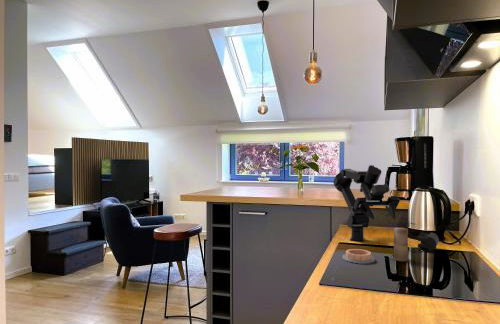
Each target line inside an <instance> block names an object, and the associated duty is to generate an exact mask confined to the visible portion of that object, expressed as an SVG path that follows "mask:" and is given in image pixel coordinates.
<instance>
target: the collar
mask: <svg viewBox="0 0 500 324" xmlns="http://www.w3.org/2000/svg"><path fill="white" fill-rule="evenodd" d="M343 259H344V260H343ZM342 260H343V261H345V262H347V261H348V262H347V263H350V262H353V263H352V264H356V263H358V264H357V265H368V264H373V263H374V262H375V257H374V256H373V255H372V252H371V251H370V250H366V249H361V248H349V249H346V250H345V254H343V255H342Z"/></svg>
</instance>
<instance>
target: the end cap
mask: <svg viewBox="0 0 500 324" xmlns="http://www.w3.org/2000/svg"><path fill="white" fill-rule="evenodd" d="M417 241H418V242H420V243H417V251H418V250H422V251H421V252H423V251H429V252H428V253H431V252H432V251H434V250H435V249H436V248H437V245H438V244H439V242H440V238H439V236H438V235H437V234H436V233H434V232H432V231H431V232H430V233H424V232H420V234H419V235H418V236H417Z"/></svg>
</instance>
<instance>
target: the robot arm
mask: <svg viewBox="0 0 500 324" xmlns="http://www.w3.org/2000/svg"><path fill="white" fill-rule="evenodd" d="M381 175H382V170H381V169H380V168H379V167H376V166H374V165H372V164H371V165H368V168H367V170H365V171H364V170H363V171H361V170H354V169H351V168H342V169H341V170H340V172H339V173H337V174H336V175H335V177H334V179H333V186H334V187H335V189H336V190H337V191H339V192H340V193H341V195H342V197H343V199H344V200H345V203H346V205H347V207H348V210H349V212H350V213H349V215H348V219H347V220H346V226H347V227H348V228H350V229H351V230H350V231H351V232H350V233H351V235H350V238H349V240H350V241H355V242H365V239H366V237H365V236H364V235H365V233H364V231H365V230H364V229H365V228H369V222H370V219H372V220H374V219H375V215H374V214H373V211H372V209H371V208H370V207H385V209H386V211H387V212H388V214H389V216H391V218H392V219H394V220H395V219H396V209H397V207H398V206H399V204H400V201H401V200H400V198H399V197H398V196H388V197H387V199H386V200H383V199H384V197H385V196H384V195H385V194H386V193H389V191H390V190H391V189H390V187H389V185H388V184H378V182H379V180H380V177H381ZM352 182H354V183H355V184H360V189H359V192H360V193H363V195H364V197H357V198H355V195H354V193H353V191H352V189H351V185H352Z"/></svg>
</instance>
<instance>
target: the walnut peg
mask: <svg viewBox="0 0 500 324" xmlns="http://www.w3.org/2000/svg"><path fill="white" fill-rule="evenodd" d="M408 240H409V229H408V228H405V227H394V228H393V260H395V261H398V262H408V260H409V250H408V249H409V241H408Z"/></svg>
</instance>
